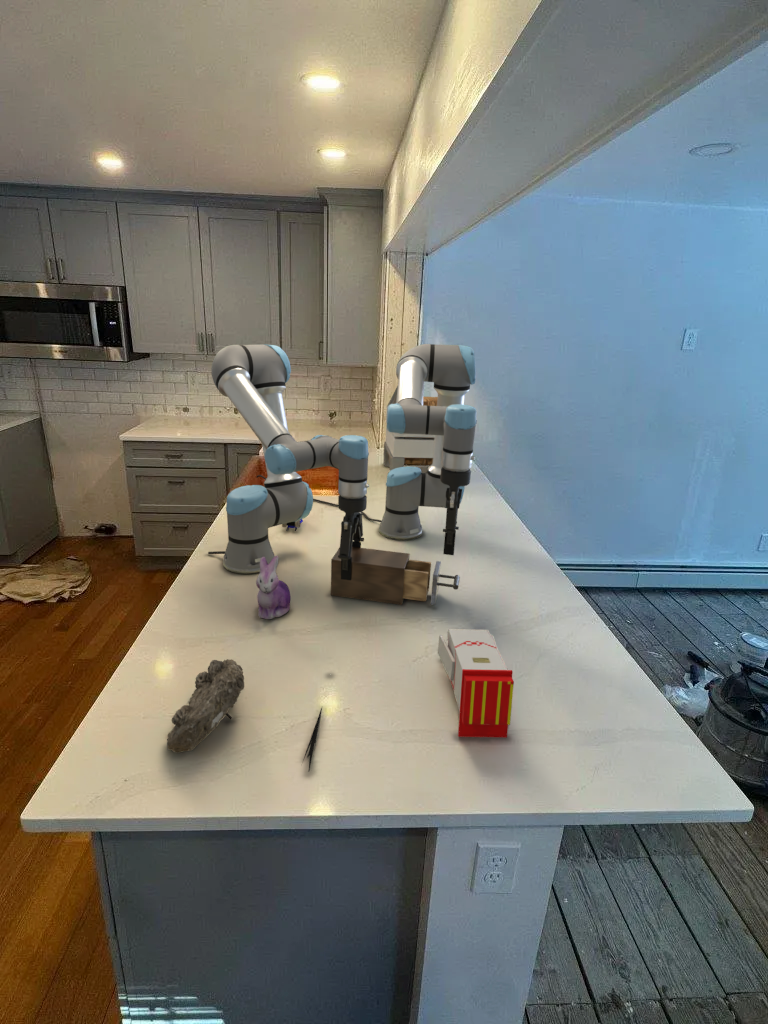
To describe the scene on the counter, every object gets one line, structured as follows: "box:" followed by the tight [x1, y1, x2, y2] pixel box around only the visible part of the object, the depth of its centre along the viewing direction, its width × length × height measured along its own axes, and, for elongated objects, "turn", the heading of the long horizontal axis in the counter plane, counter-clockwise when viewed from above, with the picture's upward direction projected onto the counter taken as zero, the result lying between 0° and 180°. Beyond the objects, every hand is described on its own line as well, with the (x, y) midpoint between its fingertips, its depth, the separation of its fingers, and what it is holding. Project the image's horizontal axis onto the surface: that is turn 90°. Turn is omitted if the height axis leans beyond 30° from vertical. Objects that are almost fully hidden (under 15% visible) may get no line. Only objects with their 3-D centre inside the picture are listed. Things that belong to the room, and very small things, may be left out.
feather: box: [301, 673, 332, 771], centre depth 108 cm, size 2×28×2 cm
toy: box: [437, 628, 515, 738], centre depth 117 cm, size 12×13×30 cm
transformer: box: [383, 385, 438, 472], centre depth 268 cm, size 34×33×41 cm
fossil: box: [166, 658, 245, 754], centre depth 106 cm, size 22×10×15 cm
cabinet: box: [330, 547, 411, 606], centre depth 156 cm, size 20×10×11 cm, turn 79°
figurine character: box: [281, 519, 304, 532], centre depth 201 cm, size 7×8×15 cm
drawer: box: [403, 559, 461, 606], centre depth 154 cm, size 24×9×9 cm, turn 79°
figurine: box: [255, 555, 292, 620], centre depth 143 cm, size 9×10×15 cm
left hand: (350, 570), depth 157 cm, fingers closed on cabinet, 10 cm apart
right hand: (448, 553), depth 150 cm, fingers closed
